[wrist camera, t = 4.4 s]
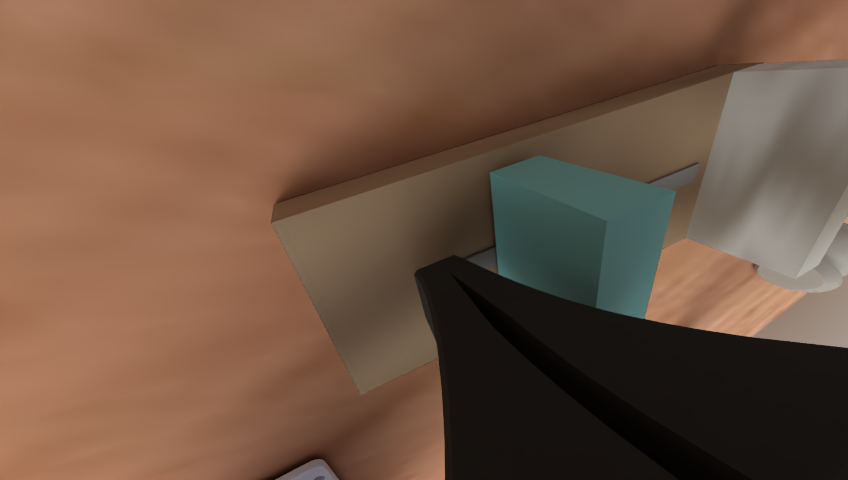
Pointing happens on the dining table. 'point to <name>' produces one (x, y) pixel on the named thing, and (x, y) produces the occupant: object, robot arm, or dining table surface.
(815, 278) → the pale two-lobed sculpture
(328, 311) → the clamp board
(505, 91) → the dining table surface
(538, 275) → the sliding jaw
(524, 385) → the robot arm
